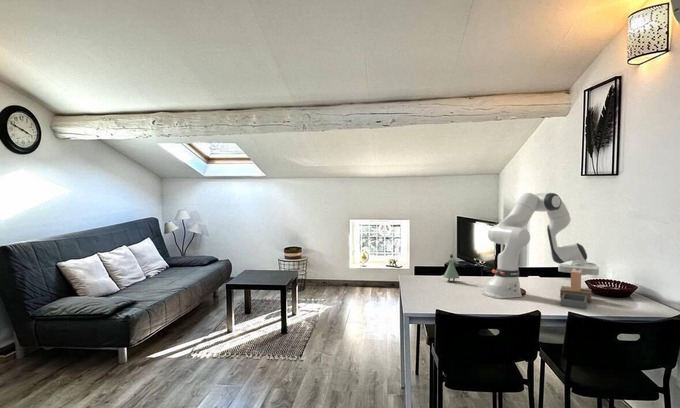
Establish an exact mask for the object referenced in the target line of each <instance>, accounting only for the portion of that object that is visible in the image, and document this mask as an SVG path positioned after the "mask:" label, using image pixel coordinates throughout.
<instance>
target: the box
mask: <svg viewBox="0 0 680 408" xmlns="http://www.w3.org/2000/svg"><path fill="white" fill-rule="evenodd" d="M587 305H588V302H587V296H585V295H577V294H569V293H563V295H562V297H561V299H560V307H561V306H562V307H568V308H574V309H581V310H587Z"/></svg>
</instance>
